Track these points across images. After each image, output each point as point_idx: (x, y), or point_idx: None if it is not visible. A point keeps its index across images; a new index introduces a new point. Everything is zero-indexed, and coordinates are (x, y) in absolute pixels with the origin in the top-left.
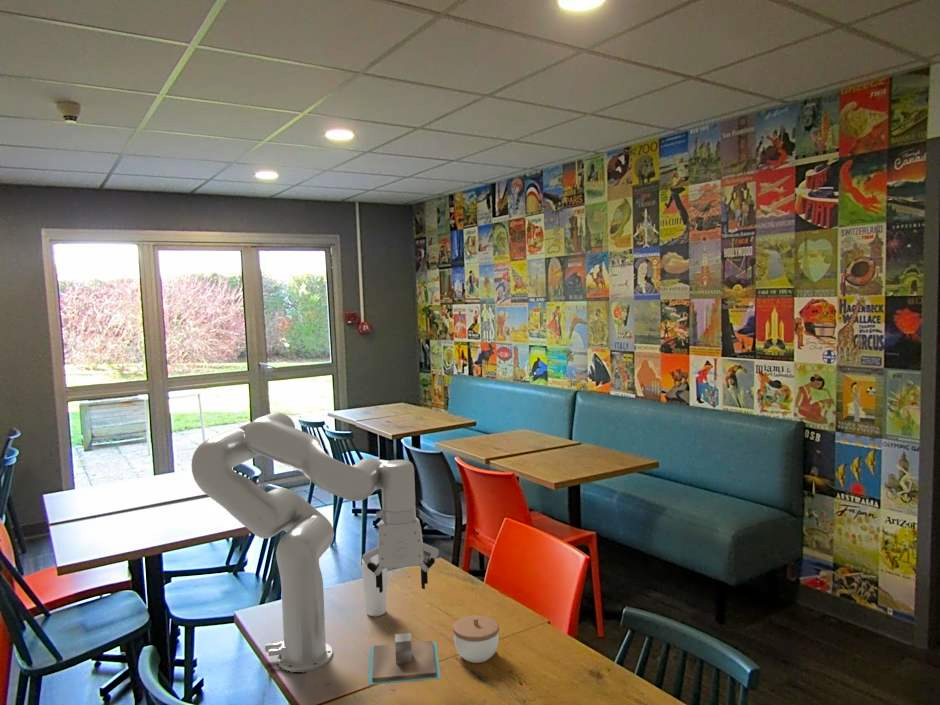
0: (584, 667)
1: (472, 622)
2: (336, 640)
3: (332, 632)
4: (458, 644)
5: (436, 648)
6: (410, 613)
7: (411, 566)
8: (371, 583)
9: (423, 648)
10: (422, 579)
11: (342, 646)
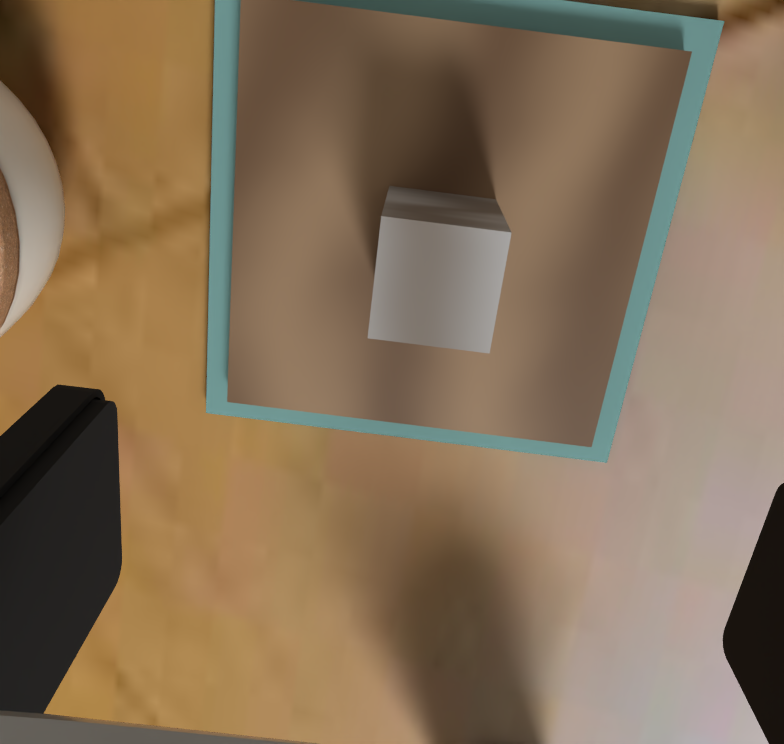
0: None
1: None
2: None
3: None
4: (13, 130)
5: (211, 336)
6: (319, 730)
7: (112, 722)
8: None
9: (291, 329)
10: (14, 474)
11: (751, 526)
